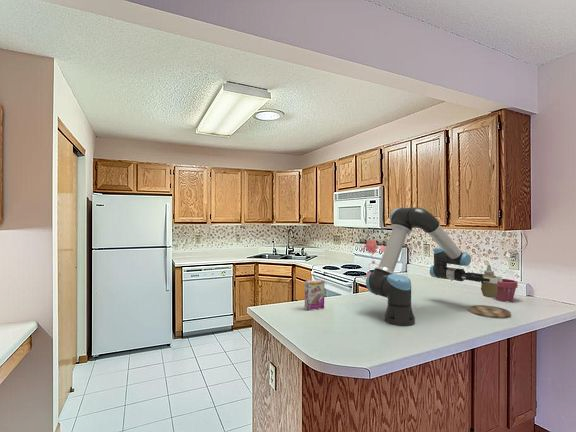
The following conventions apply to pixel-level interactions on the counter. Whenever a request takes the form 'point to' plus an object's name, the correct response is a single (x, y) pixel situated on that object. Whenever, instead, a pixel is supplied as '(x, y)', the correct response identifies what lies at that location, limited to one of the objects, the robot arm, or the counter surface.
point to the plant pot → (506, 289)
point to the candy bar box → (314, 294)
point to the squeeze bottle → (489, 284)
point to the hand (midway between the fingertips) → (499, 280)
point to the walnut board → (489, 311)
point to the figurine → (372, 250)
